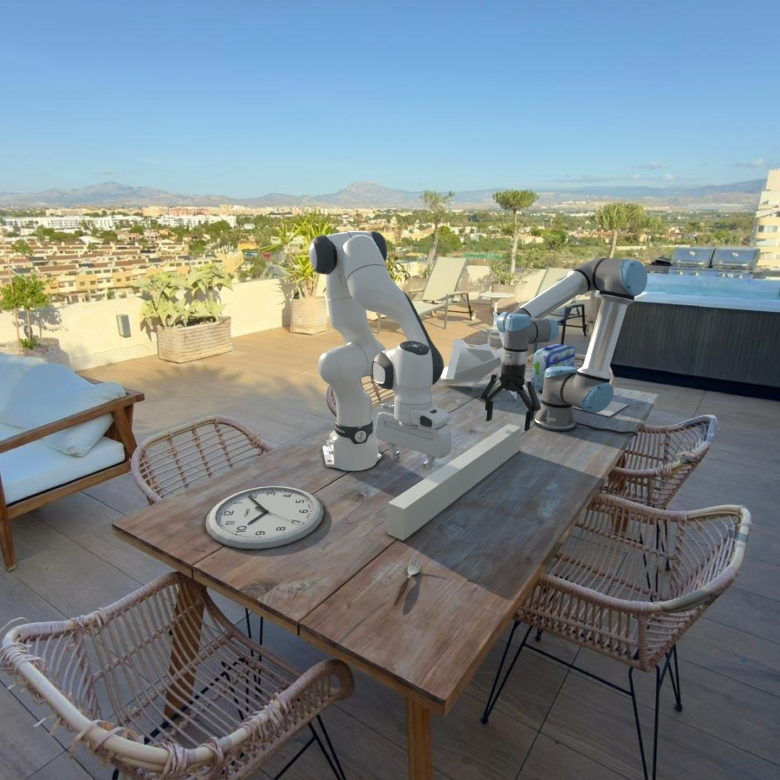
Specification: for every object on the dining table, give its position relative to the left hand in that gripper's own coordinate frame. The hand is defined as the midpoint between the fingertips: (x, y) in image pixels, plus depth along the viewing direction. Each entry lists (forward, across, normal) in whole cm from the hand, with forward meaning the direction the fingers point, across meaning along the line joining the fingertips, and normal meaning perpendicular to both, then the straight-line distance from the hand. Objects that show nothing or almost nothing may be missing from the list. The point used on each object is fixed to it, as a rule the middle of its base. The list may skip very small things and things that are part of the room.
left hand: (410, 464), depth 128 cm
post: (+18, 0, +29) cm, 34 cm away
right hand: (+7, 0, +57) cm, 57 cm away
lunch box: (+18, -16, +142) cm, 144 cm away
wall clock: (+18, -32, -19) cm, 41 cm away
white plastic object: (+18, -40, +114) cm, 122 cm away
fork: (+18, +12, -18) cm, 28 cm away
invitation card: (+18, +11, +130) cm, 131 cm away
